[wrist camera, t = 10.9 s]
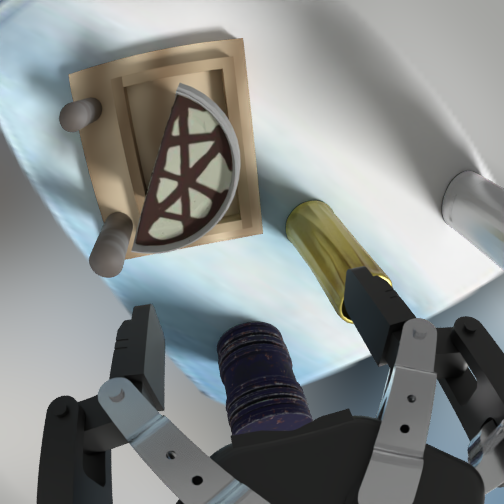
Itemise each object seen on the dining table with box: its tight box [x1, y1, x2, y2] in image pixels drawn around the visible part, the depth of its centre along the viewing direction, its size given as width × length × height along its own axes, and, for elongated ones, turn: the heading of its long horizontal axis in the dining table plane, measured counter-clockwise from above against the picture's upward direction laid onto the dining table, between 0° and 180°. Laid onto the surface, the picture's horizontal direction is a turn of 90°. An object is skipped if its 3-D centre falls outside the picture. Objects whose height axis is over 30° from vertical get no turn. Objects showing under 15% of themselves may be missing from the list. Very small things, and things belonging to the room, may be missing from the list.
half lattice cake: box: [131, 83, 241, 254], centre depth 25 cm, size 12×6×10 cm, turn 159°
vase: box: [286, 201, 392, 324], centre depth 32 cm, size 6×6×14 cm
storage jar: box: [217, 322, 313, 435], centre depth 40 cm, size 10×10×15 cm
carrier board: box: [59, 38, 263, 278], centre depth 26 cm, size 16×20×9 cm
